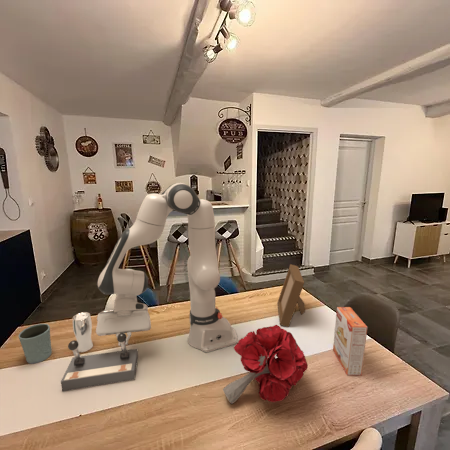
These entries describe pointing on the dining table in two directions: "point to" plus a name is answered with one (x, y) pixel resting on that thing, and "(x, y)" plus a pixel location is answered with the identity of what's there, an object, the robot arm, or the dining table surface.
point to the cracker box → (349, 340)
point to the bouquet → (268, 364)
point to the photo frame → (290, 296)
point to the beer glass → (83, 331)
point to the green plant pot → (36, 343)
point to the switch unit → (100, 370)
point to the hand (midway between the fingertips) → (123, 345)
